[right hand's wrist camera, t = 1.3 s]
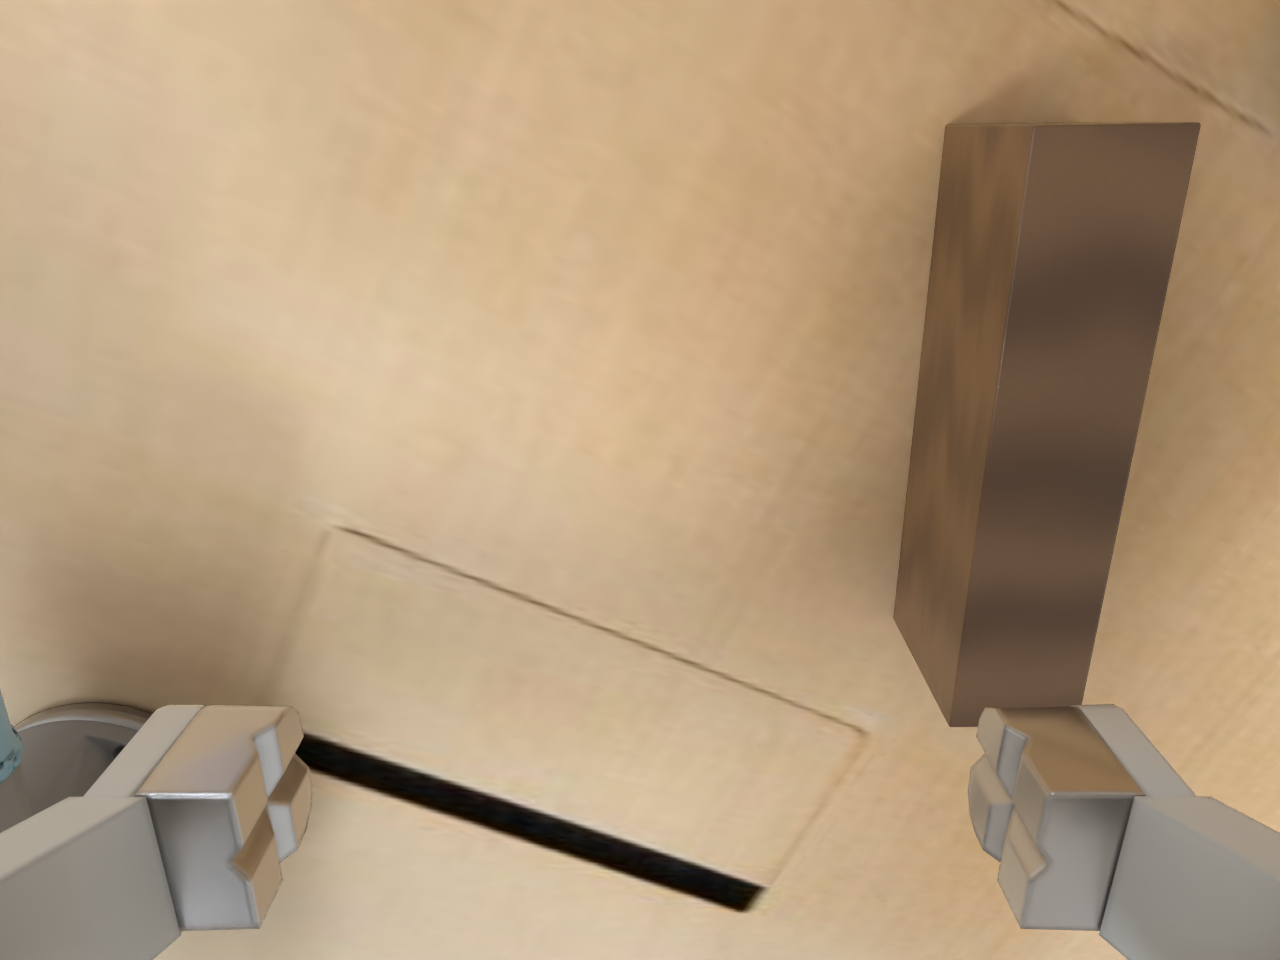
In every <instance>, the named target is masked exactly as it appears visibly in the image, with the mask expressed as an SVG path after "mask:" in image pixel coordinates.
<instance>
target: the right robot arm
mask: <svg viewBox="0 0 1280 960" xmlns="http://www.w3.org/2000/svg"><path fill="white" fill-rule="evenodd" d="M303 737H304V735H303V730H302V725H301V720H300V716H299V713H298V712H297V711H296V710H295V709H294V708H293V707H287V706H241V705H209V706H206V705H167V706H164V707H161V708H158V709H157V710H156V711H155V712H154V713H153V714H152V715H151V717H150V718H149V719H148V720H147V721H146V723H145V724H144V725H143V726H142V727H141V728H140V730H139V731H138V732H137V733H136V734H135V736H134V737H133V738H132V739H131V740H130V741H129V743H128V744H127V745H126V746H125V747H124V749H123V750H122V751H121V752H120V753H119V755H118V756H117V757H116V758H115V759H114V760H113V762H112V763H111V764H110V765H109V766H108V768H107V769H106V770H105V771H104V772H103V773H102V775H101V776H100V777H99V778H98V779H97V781H96V782H95V783H94V784H93V785H92V786H91V788H90V789H89V790H88V791H87V792H86V794H85V795H84V796H83V797H68V798H66V799H64V800H62V801H60V802H58V803H56V804H54V805H52V806H51V807H49V808H47V809H45V810H43V811H41V812H39V813H37V814H35V815H33V816H32V817H30V818H28V819H26V820H24V821H22V822H20V823H18V824H16V825H14V826H12V827H11V828H9V829H7V830H5V831H3V832H1V833H0V960H153V959H154V958H155V957H156V956H157V955H158V954H160V953H161V952H162V951H163V950H164V949H165V948H166V947H168V946H169V945H170V944H171V943H172V942H173V941H175V940H176V939H177V938H178V937H179V936H180V935H181V933H180V931H193V930H227V929H259V928H260V926H261V924H262V922H263V920H264V918H265V916H266V914H267V912H268V910H269V908H270V906H271V903H272V901H273V899H274V897H275V895H276V893H277V891H278V889H279V887H280V885H281V883H282V881H283V879H282V873H281V868H280V862H281V861H282V860H284V859H285V858H286V857H288V856H289V855H291V854H292V853H293V852H295V851H296V850H297V849H298V847H299V845H300V843H301V840H302V838H303V836H304V834H305V831H306V828H307V824H308V819H309V814H310V810H311V805H312V783H311V777H310V770H309V767H308V766H307V765H306V764H305V763H304V762H303V761H302V760H301V759H300V758H299V757H298V756H297V755H296V754H295V752H296V750H297V748H298V746H299V744H300V743H301V741H302V739H303ZM976 737H977V739H978V741H979V742H980V744H981V746H982V748H983V750H984V752H985V754H984V755H983V756H982V757H981V758H980V759H979V760H978V761H977V762H976V763H975V764H974V765H973V766H972V767H971V771H970V779H969V786H968V798H969V810H970V817H971V820H972V824H973V827H974V831H975V834H976V836H977V838H978V840H979V843H980V845H981V847H982V849H983V850H984V851H985V852H987V853H988V854H989V855H991V856H992V857H994V858H995V859H996V860H998V861H999V862H1000V868H999V873H998V879H997V881H998V883H999V885H1000V887H1001V889H1002V891H1003V893H1004V895H1005V897H1006V899H1007V901H1008V903H1009V905H1010V907H1011V909H1012V912H1013V914H1014V916H1015V918H1016V920H1017V922H1018V924H1019V926H1020V928H1021V929H1051V930H1086V931H1100V933H1099V935H1100V936H1101V937H1102V938H1104V939H1105V940H1106V941H1107V942H1108V943H1109V944H1111V945H1112V946H1113V947H1114V948H1115V949H1116V950H1117V951H1119V952H1120V953H1121V954H1122V955H1123V956H1124V957H1126V958H1127V959H1128V960H1280V833H1279V832H1277V831H1275V830H1273V829H1271V828H1269V827H1267V826H1265V825H1264V824H1262V823H1260V822H1258V821H1256V820H1254V819H1252V818H1250V817H1248V816H1247V815H1245V814H1243V813H1241V812H1239V811H1237V810H1235V809H1233V808H1231V807H1229V806H1228V805H1226V804H1224V803H1222V802H1220V801H1218V800H1216V799H1214V798H1212V797H1197V796H1196V795H1195V794H1194V792H1193V791H1192V790H1191V789H1190V788H1189V786H1188V785H1187V784H1186V783H1185V782H1184V781H1183V779H1182V778H1181V777H1180V776H1179V775H1178V773H1177V772H1176V771H1175V770H1174V769H1173V768H1172V766H1171V765H1170V764H1169V763H1168V762H1167V760H1166V759H1165V758H1164V757H1163V756H1162V755H1161V753H1160V752H1159V751H1158V750H1157V749H1156V747H1155V746H1154V745H1153V744H1152V743H1151V742H1150V740H1149V739H1148V738H1147V737H1146V736H1145V734H1144V733H1143V732H1142V731H1141V730H1140V729H1139V727H1138V726H1137V725H1136V724H1135V723H1134V721H1133V720H1132V719H1131V718H1130V717H1129V716H1128V714H1127V713H1126V712H1125V711H1124V710H1123V709H1122V708H1120V707H1118V706H1116V705H1114V704H1102V705H1071V706H1069V707H987V708H985V709H984V711H983V713H982V715H981V716H980V718H979V724H978V729H977V735H976Z"/></svg>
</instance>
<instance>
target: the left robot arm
mask: <svg viewBox="0 0 1280 960" xmlns="http://www.w3.org/2000/svg"><path fill="white" fill-rule="evenodd" d="M151 715H152V714H151V713H148V712H145V711H142V710H139V709H135V708H131V707H126V706H120V705H114V704H105V703H78V704H69V705H63V706H58V707H54V708H50V709H47V710H44V711H42V712H39V713H37V714H35V715H32V716H30V717H28V718H27V719H25V720H23V721H22V722H20V723H19V724H17V725H16V726H15V727H14V726H12V725H11V724H10V721H9V718H8V714H7V711H6V708H5V704H4V701H3V697H2V694H1V690H0V833H1V832H3V831H5V830H7V829H9V828H11V827H12V826H14V825H16V824H18V823H20V822H22V821H24V820H26V819H28V818H30V817H32V816H33V815H35V814H37V813H39V812H41V811H43V810H45V809H47V808H49V807H51V806H52V805H54V804H56V803H58V802H60V801H62V800H64V799H66V798H68V797H83V796H84V795H85V794H86V792H87V791H88V790H89V789H90V788H91V786H92V785H93V784H94V783H95V782H96V781H97V779H98V778H99V777H100V776H101V775H102V773H103V772H104V771H105V770H106V769H107V768H108V766H109V765H110V764H111V763H112V762H113V760H114V759H115V758H116V757H117V756H118V755H119V753H120V752H121V751H122V750H123V749H124V747H125V746H126V745H127V744H128V743H129V741H130V740H131V739H132V738H133V737H134V736H135V734H136V733H137V732H138V731H139V730H140V728H141V727H142V726H143V725H144V724H145V723H146V721H147V720H148V719H149V718H150V717H151ZM181 932H182V931H180V933H181Z"/></svg>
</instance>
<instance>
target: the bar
mask: <svg viewBox="0 0 1280 960" xmlns="http://www.w3.org/2000/svg"><path fill="white" fill-rule="evenodd" d="M1199 130H1200V123H1198V122H1074V123H1013V124H951V125H946V127H945V135H944V145H943V154H942V164H941V173H940V183H939V192H938V202H937V211H936V221H935V230H934V240H933V249H932V259H931V268H930V278H929V287H928V296H927V306H926V315H925V325H924V334H923V344H922V353H921V363H920V372H919V382H918V391H917V401H916V410H915V420H914V429H913V439H912V448H911V458H910V467H909V477H908V486H907V495H906V505H905V514H904V524H903V533H902V543H901V552H900V562H899V571H898V581H897V590H896V600H895V609H894V620H895V622H896V624H897V626H898V628H899V630H900V632H901V634H902V636H903V638H904V640H905V642H906V644H907V646H908V648H909V649H910V651H911V653H912V655H913V657H914V659H915V661H916V663H917V665H918V667H919V669H920V671H921V673H922V675H923V677H924V679H925V680H926V682H927V684H928V686H929V688H930V690H931V692H932V694H933V696H934V698H935V700H936V702H937V704H938V706H939V708H940V709H941V711H942V713H943V715H944V717H945V719H946V721H947V723H948V725H949V726H950V727H978V724H979V718H980V716H981V715H982V713H983V711H984V709H985V708H987V707H1069V706H1071V705H1082V700H1083V695H1084V690H1085V685H1086V681H1087V676H1088V671H1089V666H1090V661H1091V656H1092V651H1093V646H1094V642H1095V637H1096V632H1097V627H1098V622H1099V617H1100V612H1101V608H1102V603H1103V598H1104V593H1105V588H1106V583H1107V578H1108V573H1109V569H1110V564H1111V559H1112V554H1113V549H1114V544H1115V539H1116V534H1117V530H1118V525H1119V520H1120V515H1121V510H1122V505H1123V500H1124V495H1125V491H1126V486H1127V481H1128V476H1129V471H1130V466H1131V461H1132V456H1133V452H1134V447H1135V442H1136V437H1137V432H1138V427H1139V422H1140V418H1141V413H1142V408H1143V403H1144V398H1145V393H1146V388H1147V383H1148V379H1149V374H1150V369H1151V364H1152V359H1153V354H1154V349H1155V344H1156V340H1157V335H1158V330H1159V325H1160V320H1161V315H1162V310H1163V305H1164V301H1165V296H1166V291H1167V286H1168V281H1169V276H1170V271H1171V266H1172V262H1173V257H1174V252H1175V247H1176V242H1177V237H1178V232H1179V227H1180V223H1181V218H1182V213H1183V208H1184V203H1185V198H1186V193H1187V189H1188V184H1189V179H1190V174H1191V169H1192V164H1193V159H1194V154H1195V150H1196V145H1197V140H1198V135H1199Z"/></svg>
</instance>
